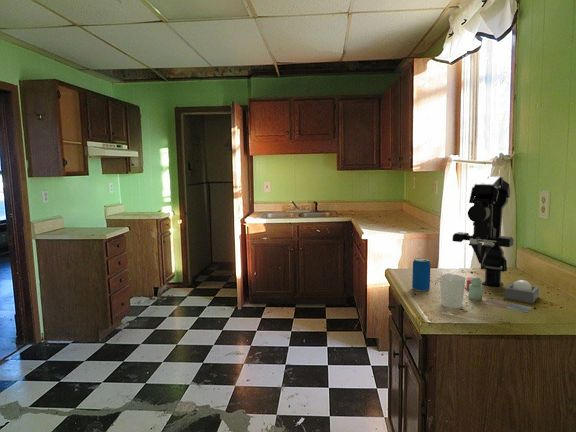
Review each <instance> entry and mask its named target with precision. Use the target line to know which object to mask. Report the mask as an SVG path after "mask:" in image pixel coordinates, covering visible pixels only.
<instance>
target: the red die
mask: <svg viewBox="0 0 576 432" xmlns="http://www.w3.org/2000/svg"><path fill="white" fill-rule="evenodd" d="M472 278H473V277H466V290H468V291H469V284H471V279H472Z"/></svg>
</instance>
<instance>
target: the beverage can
mask: <svg viewBox="0 0 576 432" xmlns="http://www.w3.org/2000/svg"><path fill="white" fill-rule="evenodd" d="M431 264H432V263H431V260H430V258H425V257H414V258H413V262H412V281H411V283H412V284H411V285H412V287H411V289H413V290H414V291H416V292H426V291H429V290H430V288H431Z"/></svg>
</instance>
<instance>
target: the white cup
mask: <svg viewBox="0 0 576 432" xmlns="http://www.w3.org/2000/svg"><path fill="white" fill-rule="evenodd" d="M439 277H440V280H439V281H440V289H439V290H440V304H441V306H443V307H445V308H450V309H460V308H462V307H463V301H464V300H463V299H464V295H465V285H466V282H465V281H466V278H465V276H462V275H459V274H454V273H453V274H452V273H450V274H441V275H440V276H439Z"/></svg>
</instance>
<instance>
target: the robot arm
mask: <svg viewBox="0 0 576 432" xmlns="http://www.w3.org/2000/svg"><path fill="white" fill-rule="evenodd" d="M510 197H511V186H510V183H508V182H507V181H505V180H504V176H502V175H490V176H488V177H487V179H485V181H484V182H476V183H474V185H473V186H472V187H471V191H470V196H469V201H468V203H469V204H473V205H472V206H470V207H469V209H468V210H467V217H468V218H469V220H470V221H471V222H472V226H473V234H472V235H470V234H469V232H464V231H463V232H461V231H458V232H455V233H453V235H452V242H457V243H462V242H463V241H469V243H468V246H470V247H471V248H472V250H473V252H474V253H475V256H476V260H477V262H478V263H479V264H480V270H484V273H485V274H484V281H483V282H482V284H481V285H482V286H483V285H484V286H490V287H495V288H500V287H501V286H502V285H504V282H501V281H502V273H505V272H507V271H508V263H507V262H508V261H507V259H506V256H505V251H504V250H503V248H502V247H504V248H511V247H512V246H514V238H513V237H512V236H505V235H502V226H503V225H502V224H503V214H504V213H503V211H504V208H505V206H506V205H507V204H508V203H509V198H510Z"/></svg>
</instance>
